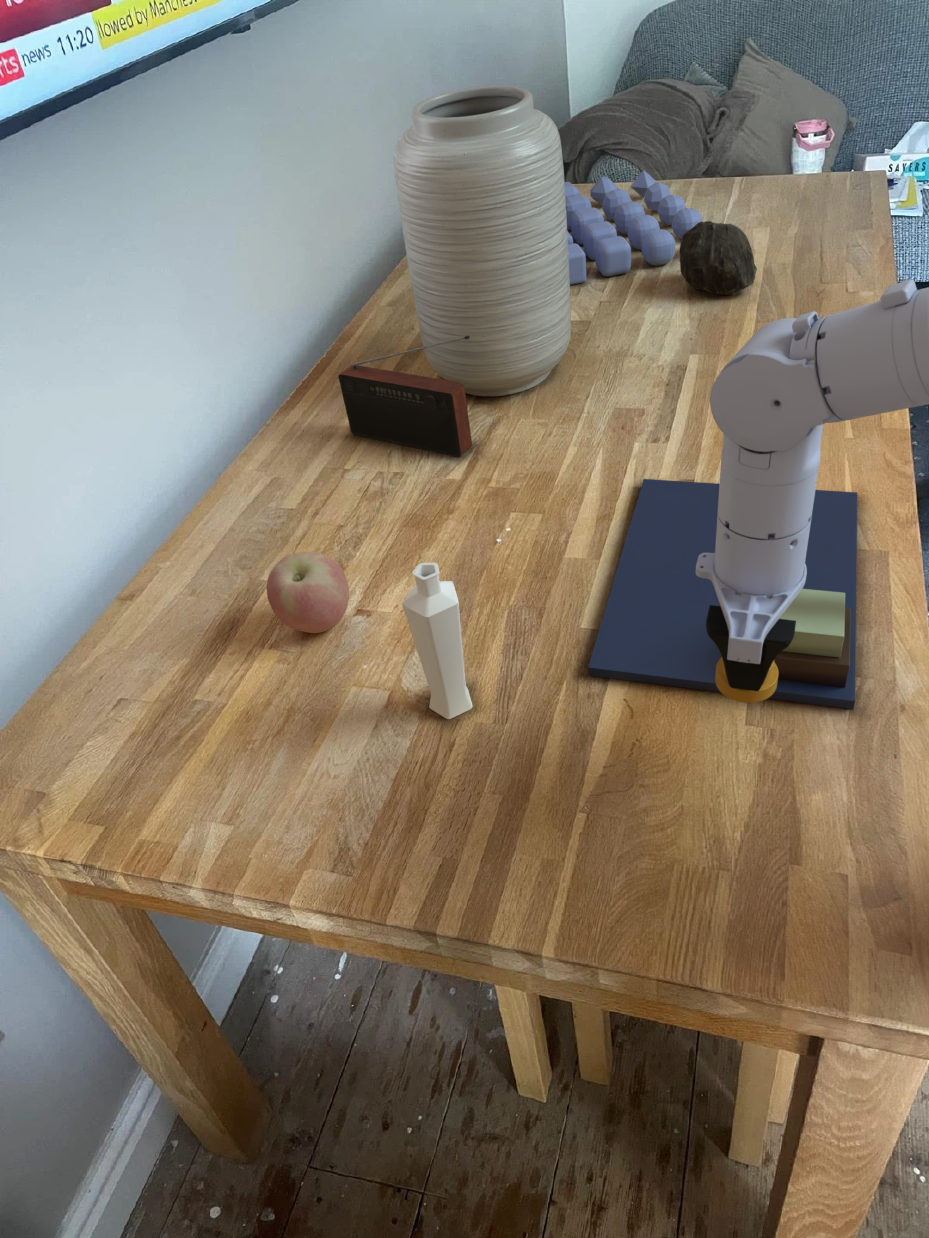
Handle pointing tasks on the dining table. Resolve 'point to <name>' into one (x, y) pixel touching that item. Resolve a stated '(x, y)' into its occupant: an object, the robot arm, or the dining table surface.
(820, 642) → the block stack
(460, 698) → the perfume bottle
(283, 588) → the apple
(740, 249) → the rock
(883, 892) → the dining table surface
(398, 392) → the radio
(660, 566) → the board
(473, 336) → the vase
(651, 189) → the blocks
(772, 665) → the cone
